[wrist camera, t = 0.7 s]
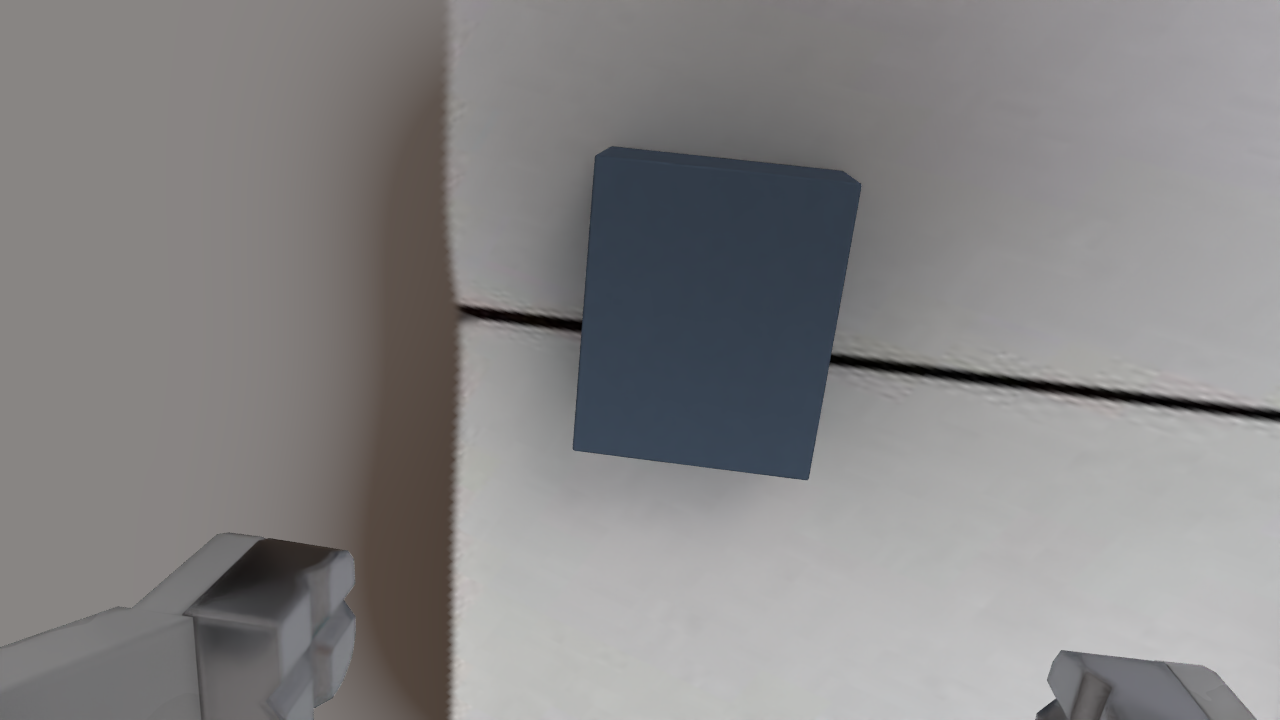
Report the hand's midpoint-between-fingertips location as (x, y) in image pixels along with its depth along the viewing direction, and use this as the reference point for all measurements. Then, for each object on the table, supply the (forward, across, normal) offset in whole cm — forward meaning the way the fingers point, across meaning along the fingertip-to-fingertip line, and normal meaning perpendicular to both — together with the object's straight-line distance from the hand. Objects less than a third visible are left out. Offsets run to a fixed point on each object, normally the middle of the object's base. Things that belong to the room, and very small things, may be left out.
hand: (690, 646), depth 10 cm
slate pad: (+15, 0, 0) cm, 16 cm away
